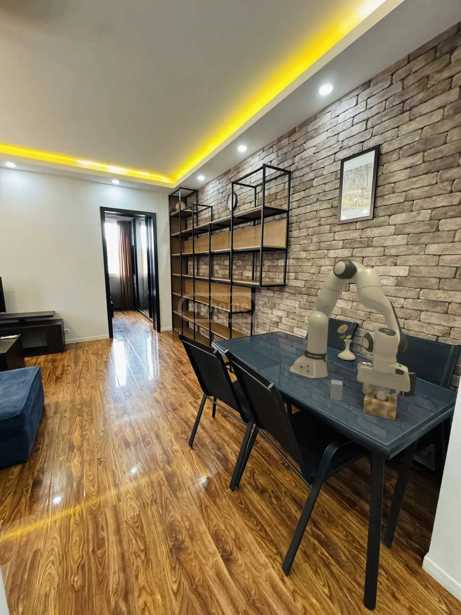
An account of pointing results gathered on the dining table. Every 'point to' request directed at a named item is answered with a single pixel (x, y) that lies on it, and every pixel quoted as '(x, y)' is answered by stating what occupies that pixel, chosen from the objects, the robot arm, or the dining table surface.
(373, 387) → the light bulb box
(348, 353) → the flower in vase
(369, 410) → the socket block
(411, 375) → the battery charger
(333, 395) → the square bit
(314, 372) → the robot arm
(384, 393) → the steel peg
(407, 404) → the dining table surface
